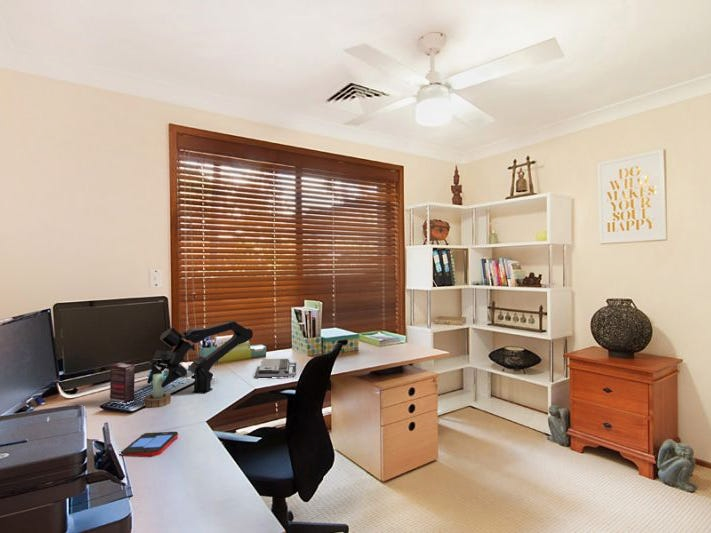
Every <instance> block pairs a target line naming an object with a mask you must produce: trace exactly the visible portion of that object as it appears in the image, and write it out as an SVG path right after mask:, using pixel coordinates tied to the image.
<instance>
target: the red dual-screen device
mask: <svg viewBox="0 0 711 533" xmlns="http://www.w3.org/2000/svg"><path fill="white" fill-rule="evenodd" d="M178 437H179V433H178V431H161V432H160V431H159V432H145V433H143V434H141V435H140V436H138V438H136V439H135V440H134V441H133V442H131V443H130V444H129V445H128V446H126V447H125V448H124V449H122V450H121V451H120V452H121V453H122V454H123V456H125V457H126V456H127V457H128V456H129V457H131V456H132V457H156V456H160V455H161V454H163V452H165V451H166V450H167V449H168V448H169V447H170V446H171V445H172V444H173V443H174V442H175V441H176V440H178Z"/></svg>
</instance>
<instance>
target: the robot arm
mask: <svg viewBox="0 0 711 533" xmlns="http://www.w3.org/2000/svg"><path fill="white" fill-rule="evenodd" d="M229 331H232V332H233V335H232V336H231V338H229V339H228V340H226V341H225V342H224V343H223V344H221V345H220V346H219V347H217V348H216V349H215V350H213V351H212V352H211V353H209V354H208V355H207V356H202V355H199V356H198V357H197V358H196V359H194V360H193V361H192V363H191V364H190V370H189V371H191V373H193V374H194V375H193V376H194V380H193V390H192V393H196V394H207V393H208V392H211V391H212V390H213V388H212V386H211V383H212V381H211V380H212V378H213V376H214V374H213V373H212V372H211V371H210V370H211V369H212V367H213V365H215V363H217V362H218V361H219V360H220V359H222V358H223V357H225V355H226V354H228V353H230V352H231V351H232V350H234V349H235V348H236V347H237V346H239V345H242V344H245V343H247V342H249V341H251V340H252V338H253V336H254V332H253V329H250V328H249V327H248V328H247V327H244V326H242V325H241V324H239V323H237V322H236V321H233V320H228V321H225V322H222V323H218V324H213V325H210V326H206V327H192V328H188V329H187V330H186V331H184V332H181V333H180V332H178V331H177V330H176V329H175V328H174V327H173V326H171V327H170V328H169V329H167V330H166V331H164V332H162V334H161V335H160V337H159V339H160V340H161V341H162V342H163V343H164V344H166V345H167V346H168V347H169V348H172V347H173V349H172V350H166V351H162V350H156V352H155V353H154V356H153V358H151V359H150V360H149V362H148V364H149V366H150V371H151V373H149V374H150V376H149V377H148V379H147V382H146V383H147V384H148V385H151V382H153V375H154V374H158V373H163V372H164V370H167V369H169V373H168V375H167V377H166V378H165V380H164V381H163V383H162V385H161V387H163V388H165V387H166V386H168V385H170V384H172V382H175V381H176V380H178V379H181V378H184V376H185V375H186V374H187V372H188V370H187V369H185V368H184V367H183V366H182V365H181V364H180V363H182V362H185V356H187V354H188V352H189V351H196V346H195V344H197V343H200V342H202V341H203V340H205V339H207V338H209V337H210V336H211V337H212V336H216V335H217V334H218V335H219V334H221V333H225V332H229ZM190 342H191V343H190ZM182 376H183V377H182Z"/></svg>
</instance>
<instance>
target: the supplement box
mask: <svg viewBox="0 0 711 533" xmlns="http://www.w3.org/2000/svg"><path fill="white" fill-rule="evenodd" d="M135 366H136V365H135V364H131V363H130V364H129V363H123V362H119V363H118V362H117V363H115V364H111V365H110V370H109V371H110V374H109V376H110V379H109V380H110V381H109V382H110V383H109V384H110V386H109V387H110V390H109V391H110V394H109V398H110V399H109V403H110V402H122V403H127V402H130V401H133V400H134V401H135V381H136V380H135V378H136V375H135V372H136V371H135V370H136V368H135Z"/></svg>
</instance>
